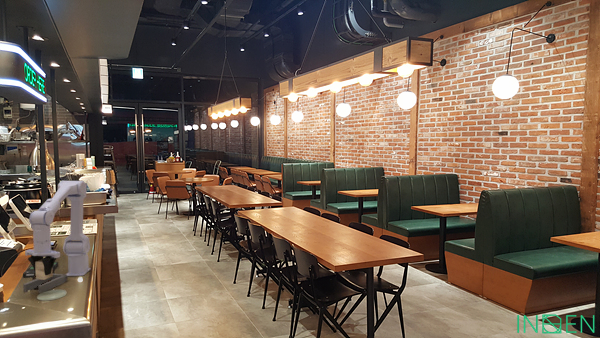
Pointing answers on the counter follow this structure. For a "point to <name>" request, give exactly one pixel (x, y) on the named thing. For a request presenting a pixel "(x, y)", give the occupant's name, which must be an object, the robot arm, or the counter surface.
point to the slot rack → (55, 281)
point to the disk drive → (31, 272)
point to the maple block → (41, 271)
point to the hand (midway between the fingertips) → (43, 273)
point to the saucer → (51, 295)
